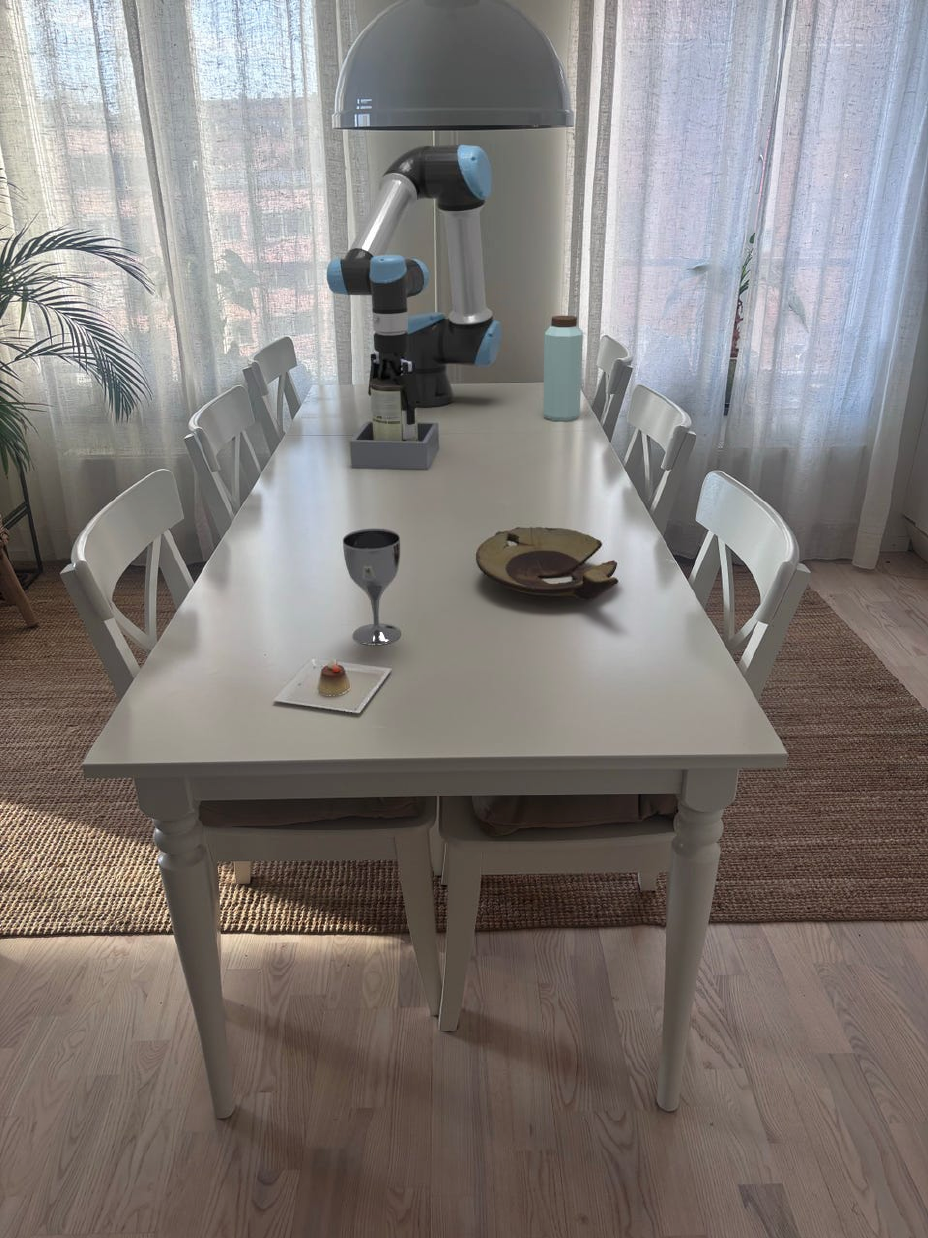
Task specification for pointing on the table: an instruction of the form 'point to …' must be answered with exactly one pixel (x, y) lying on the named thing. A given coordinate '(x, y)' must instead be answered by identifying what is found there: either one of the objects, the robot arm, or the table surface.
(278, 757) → the table surface
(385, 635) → the wine glass
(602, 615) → the table surface
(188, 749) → the table surface
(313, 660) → the dessert
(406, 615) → the table surface
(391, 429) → the coffee can
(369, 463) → the bin
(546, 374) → the water bottle
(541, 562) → the brown shallow dish
